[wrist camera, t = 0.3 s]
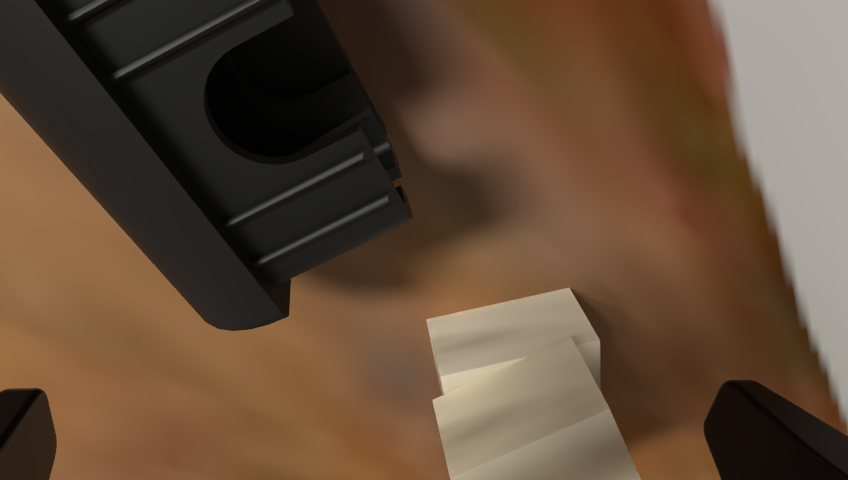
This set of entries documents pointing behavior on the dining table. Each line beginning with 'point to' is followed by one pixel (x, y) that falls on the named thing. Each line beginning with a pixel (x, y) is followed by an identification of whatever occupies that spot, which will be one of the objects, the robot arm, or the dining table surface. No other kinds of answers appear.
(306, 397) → the dining table surface
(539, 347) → the tower base
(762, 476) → the robot arm
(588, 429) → the tower top
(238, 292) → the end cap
